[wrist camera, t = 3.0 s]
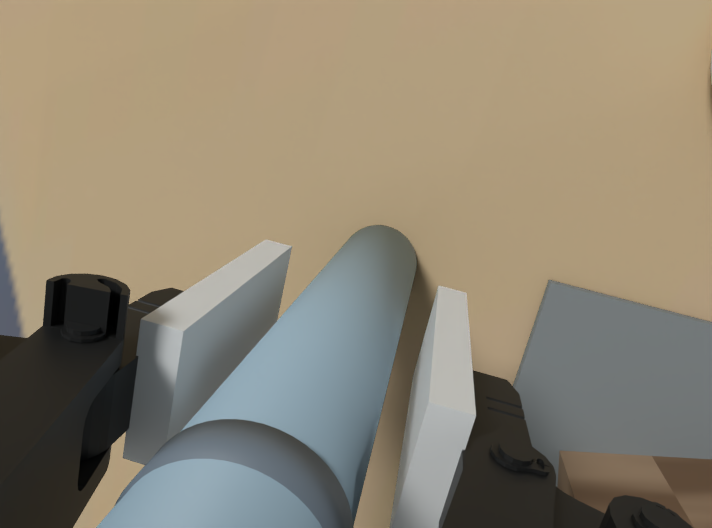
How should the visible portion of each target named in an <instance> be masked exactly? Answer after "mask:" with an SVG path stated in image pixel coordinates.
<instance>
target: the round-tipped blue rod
mask: <svg viewBox="0 0 712 528" xmlns="http://www.w3.org/2000/svg"><path fill="white" fill-rule="evenodd" d="M416 268H417V259H416V254H415V251H414V248H413V246H412V244H411V243H410V241H409V240H408V239H407V238H406V237H405V236H404V235H403V234H402V233H401V232H399V231H398V230H396V229H394V228H391V227H388V226H383V225H373V226H368V227H365V228H363V229H361V230H359V231H357V232H356V233H355V234H353V235H352V236H351V237H350V238H349V240H348V241H347V242H346V243H345V244H344V245H343V246H342V248H341V249H340V250H339V251H338V252H337V253H336V254H335V256H334V257H333V258H332V259H331V260H330V261H329V262H328V264H327V265H326V266H325V267H324V268H323V269H322V270H321V272H320V273H319V274H318V275H317V276H316V277H315V278H314V280H313V281H312V282H311V283H310V284H309V285H308V286H307V288H306V289H305V290H304V291H303V292H302V293H301V294H300V296H299V297H298V298H297V299H296V300H295V301H294V302H293V304H292V305H291V306H290V307H289V308H288V309H287V310H286V312H285V313H284V314H283V315H282V316H281V317H280V318H279V320H278V321H277V322H276V323H275V324H274V325H273V326H272V327H271V329H270V330H269V331H268V332H267V333H266V334H265V335H264V337H263V338H262V339H261V340H260V341H259V342H258V343H257V345H256V346H255V347H254V348H253V349H252V350H251V351H250V353H249V354H248V355H247V356H246V357H245V358H244V359H243V361H242V362H241V363H240V364H239V365H238V366H237V367H236V369H235V370H234V371H233V372H232V373H231V374H230V375H229V377H228V378H227V379H226V380H225V381H224V382H223V383H222V385H221V386H220V387H219V388H218V389H217V390H216V391H215V393H214V394H213V395H212V396H211V397H210V398H209V399H208V401H207V402H206V403H205V404H204V405H203V406H202V407H201V409H200V410H199V411H198V412H197V413H196V414H195V415H194V417H193V418H192V419H191V420H190V421H189V422H188V423H187V424H186V426H185V427H184V428H183V429H182V430H181V431H180V432H179V433H178V434H176V435H175V436H173V437H172V438H171V439H170V440H168V441H167V442H166V443H165V444H164V445H163V446H162V447H161V448H160V449H159V451H158V452H157V453H156V454H155V455H154V456H153V457H152V458H151V459H150V461H149V462H148V463H147V464H146V465H145V466H144V467H143V468H142V470H141V471H140V472H139V473H138V474H137V475H136V476H135V477H134V479H133V480H132V481H131V482H130V483H129V484H128V486H127V487H126V488H125V489H124V490H123V492H122V493H121V495H120V497H119V499H118V500H117V502H116V504H115V507H114V508H113V509H112V510H111V511H110V512H109V514H108V515H107V516H106V517H105V518H104V519H103V520H102V521H101V523H100V524H99V525H98V526H97V527H96V528H353V525H354V521H355V517H356V513H357V508H358V504H359V500H360V496H361V492H362V488H363V484H364V480H365V476H366V472H367V468H368V464H369V460H370V456H371V452H372V448H373V443H374V439H375V435H376V431H377V427H378V423H379V419H380V415H381V411H382V407H383V403H384V399H385V395H386V391H387V387H388V383H389V378H390V374H391V370H392V366H393V362H394V358H395V354H396V350H397V346H398V342H399V338H400V334H401V330H402V326H403V322H404V318H405V313H406V309H407V305H408V301H409V297H410V293H411V289H412V285H413V281H414V277H415V273H416Z"/></svg>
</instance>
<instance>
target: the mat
mask: <svg viewBox="0 0 712 528" xmlns="http://www.w3.org/2000/svg"><path fill="white" fill-rule="evenodd" d="M513 387H514V388H515V390H516V391H517V392H518V393H519V395H520V399H521V403H522V409H523V411H524V416H525V419H524V420H526V424H527V428H528V432H529V436H530V440H531V444H532V447H534V448H535V449H536V450H538V451H539V452H540V453H541V454H543V455H544V456H545V457H546V458H547V459H548V460H549V462H550V463H551V464H552V465H553V467H554V470H555V473H556V487H557V486H558V469H559V451H576V452H593V453H610V454H628V455H645V456H662V457H680V458H697V459H712V322H709V321H705V320H702V319H698V318H694V317H690V316H686V315H682V314H679V313H675V312H671V311H667V310H663V309H659V308H656V307H652V306H648V305H644V304H640V303H636V302H633V301H629V300H625V299H621V298H617V297H613V296H610V295H606V294H602V293H598V292H594V291H590V290H587V289H583V288H579V287H575V286H571V285H567V284H564V283H560V282H556V281H552V280H549V281H548V284H547V287H546V290H545V293H544V296H543V299H542V302H541V305H540V308H539V311H538V314H537V317H536V320H535V322H534V325H533V328H532V331H531V334H530V337H529V340H528V343H527V346H526V349H525V352H524V355H523V358H522V361H521V364H520V367H519V370H518V373H517V376H516V378H515V381H514V384H513Z"/></svg>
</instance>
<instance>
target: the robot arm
mask: <svg viewBox="0 0 712 528" xmlns="http://www.w3.org/2000/svg"><path fill="white" fill-rule="evenodd" d="M291 249H292V246H289V245H285V244H281V243H278V242H274V241H270V240H264V241H262V242H261V243H259V244H258V245H256V246H255V247H253V248H251V249H250V250H248V251H247V252H245V253H244V254H242V255H241V256H239V257H237V258H236V259H234V260H233V261H231V262H230V263H228V264H226V265H225V266H223V267H222V268H220V269H219V270H217V271H215V272H214V273H212V274H211V275H209V276H208V277H206V278H204V279H203V280H201V281H200V282H198V283H197V284H195V285H193V286H192V287H190V288H189V289H187V290H186V291H181V290H178V289H174V288H168V289H163V290H158V291H153V292H151V293H149V294H147V295H145V296H144V297H142V298H140V299H138V301H135V302H133V303H131V304H129V297H130V289H129V288H128V286H127V285H126V284H124V283H122V282H120V281H119V280H117V279H113V278H110V277H106V276H101V275H93V274H67V275H60V276H56V277H53V278H51V279H48V280H47V281H46V294H45V306H44V319H43V326H42V327H41V328H40V329H38V330H37V331H36V332H35V333H33V334H32V335H31V336H30V337H28V338H21V337H12V336H4V335H0V528H73V526H74V525H75V523H76V521H77V520H78V518H79V516H80V515H81V513H82V511H83V510H84V508H85V506H86V504H87V503H88V501H89V499H90V498H91V496H92V494H93V493H94V491H95V489H96V488H97V486H98V484H99V483H100V481H101V479H102V478H103V476H104V474H105V473H106V471H107V468H108V464H109V460H110V452H111V445H112V444H113V443H114V442H115V441H116V440H117V439H118V438H119V437H120V436H121V435H122V434H123V433H124V432H125V431H126V437H125V445H124V452H123V458H124V459H128V460H131V461H134V462H137V463H140V464H143V465H146V464H147V463H148V462H149V461H150V459H151V458H152V457H153V456H154V455H155V454H156V453H157V452H158V451H159V449H160V448H161V447H162V446H163V445H164V444H165V443H166V442H167V441H168V440H170V439H171V438H172V437H173V436H175V435H176V434H178V433H179V432H180V431H181V430H182V429H183V428H184V427H185V426H186V424H187V423H188V422H189V421H190V420H191V419H192V418H193V417H194V415H195V414H196V413H197V412H198V411H199V410H200V409H201V407H202V406H203V405H204V404H205V403H206V402H207V401H208V399H209V398H210V397H211V396H212V395H213V394H214V393H215V391H216V390H217V389H218V388H219V387H220V386H221V385H222V383H223V382H224V381H225V380H226V379H227V378H228V377H229V375H230V374H231V373H232V372H233V371H234V370H235V369H236V367H237V366H238V365H239V364H240V363H241V362H242V361H243V359H244V358H245V357H246V356H247V355H248V354H249V353H250V351H251V350H252V349H253V348H254V347H255V346H256V345H257V343H258V342H259V341H260V340H261V339H262V338H263V337H264V335H265V334H266V333H267V332H268V331H269V330H270V329H271V327H272V326H273V325H274V324H275V323H276V322H277V318H278V313H279V308H280V303H281V298H282V293H283V288H284V283H285V278H286V273H287V269H288V264H289V259H290V254H291ZM524 419H525V416H524V411H523V409H522V403H521V399H520V395H519V393H518V392H517V391H516V390H515V388H514V387H513V386H512V385H511V384H510V383H509V382H508V381H507V380H505V379H501V378H498V377H494V376H491V375H487V374H484V373H480V372H477V371H473V369H472V357H471V344H470V331H469V319H468V306H467V293H465V292H461V291H457V290H454V289H450V288H446V287H442V286H438V290H437V293H436V297H435V300H434V304H433V307H432V311H431V314H430V318H429V321H428V325H427V328H426V332H425V336H424V339H423V343H422V346H421V350H420V353H419V357H418V360H417V364H416V367H415V371H414V374H413V380H412V386H411V393H410V399H409V406H408V412H407V419H406V425H405V432H404V438H403V444H402V451H401V457H400V464H399V470H398V477H397V483H396V490H395V496H394V502H393V509H392V515H391V522H390V528H693V527H692V526H691V525H689V524H688V523H687V522H686V521H684V520H683V519H682V518H681V517H680V516H679V515H678V514H677V513H675V512H674V511H672V510H670V509H669V508H668V509H666V507H665V506H663V505H661V504H659V503H657V502H652V501H649V500H646V499H644V498H641V497H634V496H628V495H623V496H618V497H614V498H613V500H612V501H611V502H610V503H609V505H608V508H607V510H606V512H605V513H603V512H601V511H599V510H597V509H595V508H593V507H591V506H589V505H587V504H585V503H583V502H580V501H578V500H577V499H575V498H573V497H571V496H570V495H568V494H566V493H564V492H563V491H562V490H560V489H559V488H558V487H556V473H555V470H554V467H553V465H552V464H551V463H550V462H549V460H548V459H547V458H546V457H545V456H544V455H543V454H541V453H540V452H539V451H538V450H536V449H535V448H534V447H532V444H531V440H530V436H529V432H528V428H527V424H526V420H524Z"/></svg>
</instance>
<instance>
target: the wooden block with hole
mask: <svg viewBox="0 0 712 528" xmlns="http://www.w3.org/2000/svg"><path fill="white" fill-rule="evenodd" d="M557 487H558V488H559V489H560V490H562V491H563V492H564V493H566V494H568V495H570V496H571V497H573V498H575V499H577V500H578V501H580V502H583V503H585V504H587V505H589V506H591V507H593V508H595V509H597V510H599V511H601V512H603V513H605V512H606V510H607V508H608V505H609V503H610V502H611V501H612V500H613V498H614V497H618V496H623V495H628V496H634V497H641V498H644V499H646V500H649V501H652V502H657V503H659V504H661V505H663V506H665V507H666V509H668V508H669V509H670V510H672V511H674V512H675V513H677V514H678V515H679V516H680V517H681V518H682V519H683V520H684V521H686V522H687V523H688V524H689V525H691V526H692V527H693V528H712V459H697V458H680V457H662V456H645V455H628V454H610V453H593V452H576V451H559V469H558V486H557Z"/></svg>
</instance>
